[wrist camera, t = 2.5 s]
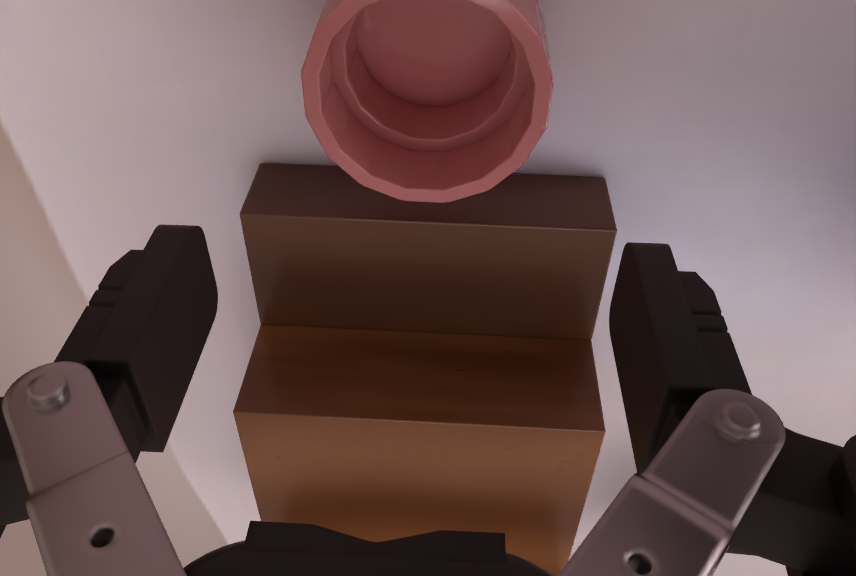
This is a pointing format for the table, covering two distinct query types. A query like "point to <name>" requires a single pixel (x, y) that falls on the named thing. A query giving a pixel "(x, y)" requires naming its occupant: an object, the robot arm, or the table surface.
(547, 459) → the wooden staircase block
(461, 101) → the pink cup
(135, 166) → the table surface
